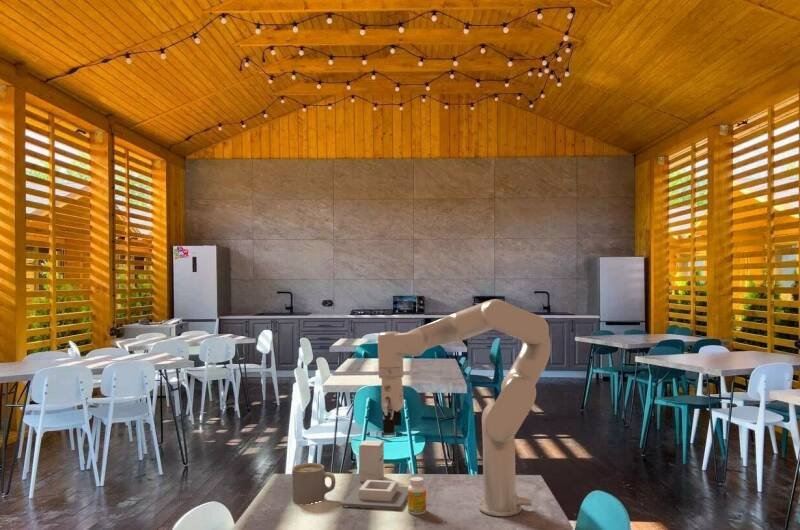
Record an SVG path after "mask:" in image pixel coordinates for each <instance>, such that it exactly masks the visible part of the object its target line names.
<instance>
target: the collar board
mask: <svg viewBox="0 0 800 530" xmlns="http://www.w3.org/2000/svg"><path fill="white" fill-rule="evenodd" d="M408 487H409V486H398V480H382V479H381V480H366V482H363V484H357V485H356V487H355V488H354V489H353V490H352V491H351V493H350V494H349V495H348V496H347V497H346V499H344V501H343V502H342V507H343V506H348V507H361V508H360V509H365V508H374V509H373V510H383V511H384V510H385V511H398V510H400V512H401V511H402V509H403V508H402V507H404V506H405V504H404V503H406V502H407V501H408V499H407V498H408ZM403 505H404V506H403ZM348 507H347V508H348Z"/></svg>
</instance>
